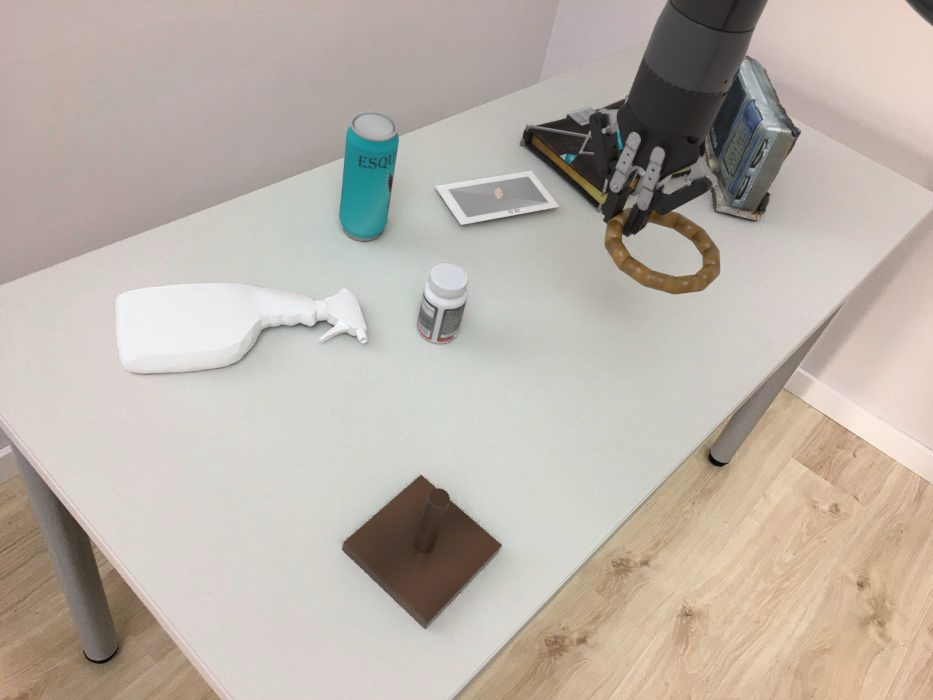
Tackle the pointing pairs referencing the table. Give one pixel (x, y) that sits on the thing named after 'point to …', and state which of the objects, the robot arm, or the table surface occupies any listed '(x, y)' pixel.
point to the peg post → (422, 550)
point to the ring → (659, 279)
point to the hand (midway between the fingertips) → (620, 225)
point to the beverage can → (368, 174)
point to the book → (577, 153)
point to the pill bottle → (443, 303)
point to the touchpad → (496, 197)
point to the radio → (749, 143)
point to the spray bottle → (216, 323)
